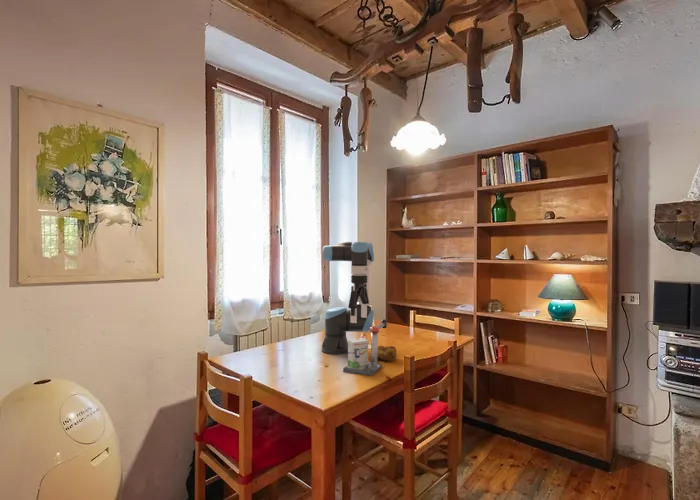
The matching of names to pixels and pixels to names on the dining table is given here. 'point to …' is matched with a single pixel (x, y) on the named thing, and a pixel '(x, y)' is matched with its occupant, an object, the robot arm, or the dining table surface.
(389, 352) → the bread roll
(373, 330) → the lever
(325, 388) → the dining table surface
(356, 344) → the ink box
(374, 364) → the stand
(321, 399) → the dining table surface
